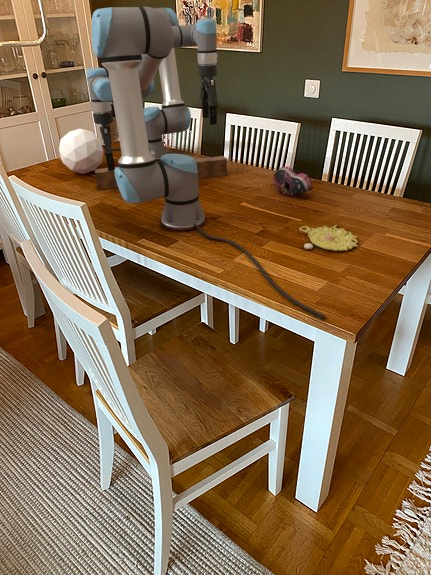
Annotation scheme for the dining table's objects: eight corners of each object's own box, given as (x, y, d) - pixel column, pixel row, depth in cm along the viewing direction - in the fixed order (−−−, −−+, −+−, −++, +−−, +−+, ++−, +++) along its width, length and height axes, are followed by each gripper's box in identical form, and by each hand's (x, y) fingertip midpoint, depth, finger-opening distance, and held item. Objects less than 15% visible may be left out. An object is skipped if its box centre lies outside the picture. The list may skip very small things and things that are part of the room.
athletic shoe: (283, 166, 186) (259, 173, 182) (313, 160, 166) (287, 167, 162) (289, 193, 189) (265, 200, 185) (319, 190, 169) (293, 198, 165)
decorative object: (343, 255, 128) (285, 234, 139) (342, 262, 130) (284, 241, 140) (372, 230, 142) (317, 213, 152) (371, 237, 143) (316, 219, 153)
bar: (98, 189, 186) (95, 172, 182) (97, 186, 190) (94, 169, 186) (226, 175, 198) (226, 159, 194) (223, 172, 202) (223, 155, 198)
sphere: (90, 188, 207) (76, 163, 188) (59, 168, 212) (42, 141, 193) (116, 160, 212) (105, 132, 193) (86, 141, 216) (72, 112, 198)
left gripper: (225, 67, 165) (226, 126, 176) (209, 61, 185) (210, 114, 197) (205, 68, 163) (207, 128, 175) (191, 62, 184) (194, 115, 195)
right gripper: (114, 118, 164) (122, 173, 176) (110, 105, 184) (117, 155, 196) (93, 119, 163) (102, 175, 174) (91, 106, 183) (100, 157, 195)
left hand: (209, 121), depth 186 cm, fingers open, 13 cm apart
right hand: (110, 165), depth 185 cm, fingers open, 13 cm apart
